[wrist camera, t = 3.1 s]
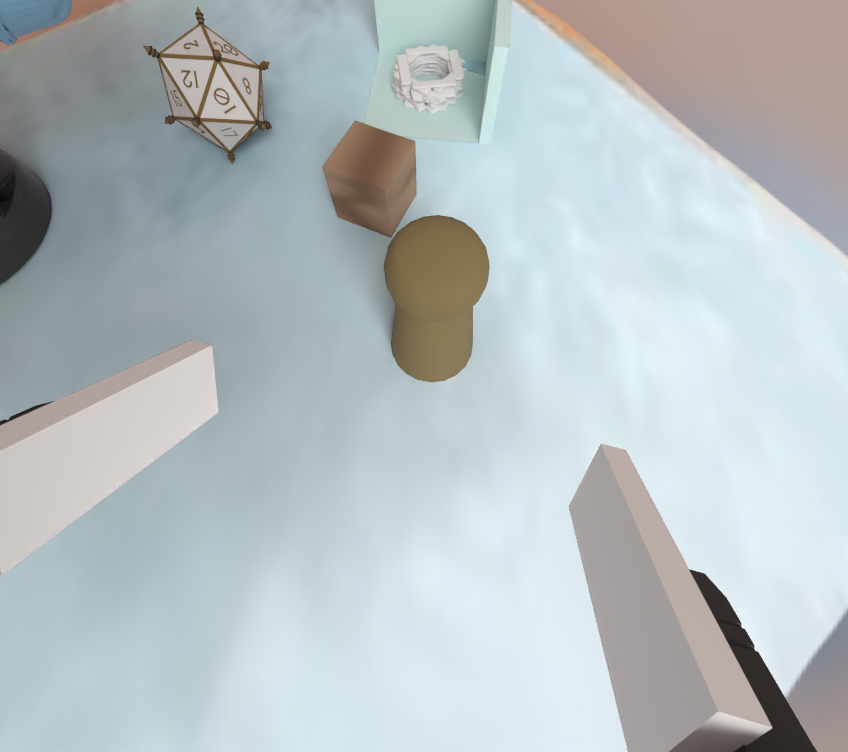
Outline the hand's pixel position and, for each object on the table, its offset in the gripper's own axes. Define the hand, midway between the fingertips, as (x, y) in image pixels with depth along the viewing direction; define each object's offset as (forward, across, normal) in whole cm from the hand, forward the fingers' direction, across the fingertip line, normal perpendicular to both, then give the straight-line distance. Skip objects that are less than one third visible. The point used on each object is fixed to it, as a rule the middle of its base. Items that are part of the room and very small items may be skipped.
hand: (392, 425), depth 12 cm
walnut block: (+23, -8, +5) cm, 25 cm away
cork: (+15, 0, -3) cm, 15 cm away
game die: (+26, -23, +8) cm, 35 cm away
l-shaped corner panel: (+33, -7, +15) cm, 37 cm away
